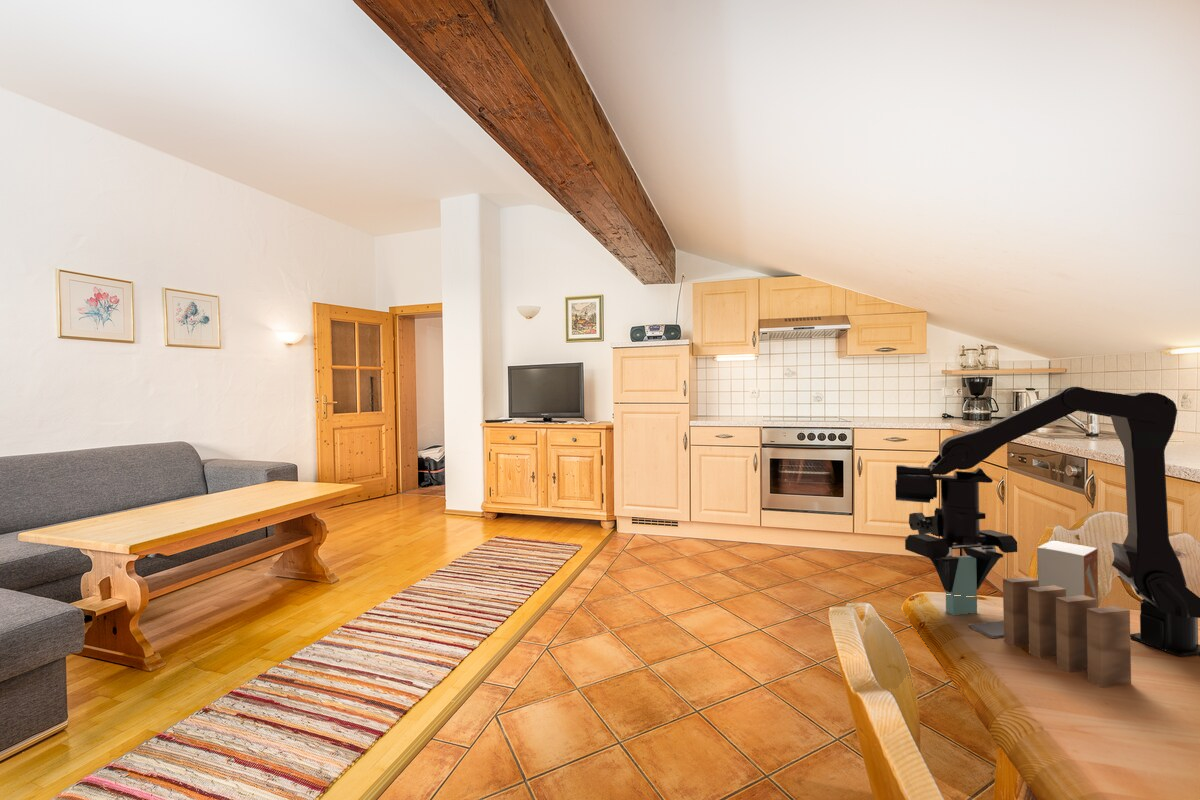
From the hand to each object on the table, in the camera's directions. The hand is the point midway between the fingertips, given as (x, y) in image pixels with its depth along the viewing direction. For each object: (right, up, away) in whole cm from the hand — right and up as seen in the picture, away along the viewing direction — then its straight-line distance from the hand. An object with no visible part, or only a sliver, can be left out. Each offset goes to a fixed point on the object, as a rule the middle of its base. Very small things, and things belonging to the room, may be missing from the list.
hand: (961, 590), depth 92 cm
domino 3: (+2, -4, -15) cm, 16 cm away
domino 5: (+4, -4, -23) cm, 24 cm away
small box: (+16, -4, -4) cm, 17 cm away
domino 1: (0, -4, 0) cm, 4 cm away
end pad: (+1, -4, -7) cm, 9 cm away
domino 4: (+3, -4, -19) cm, 20 cm away
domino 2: (+1, -4, -11) cm, 12 cm away
